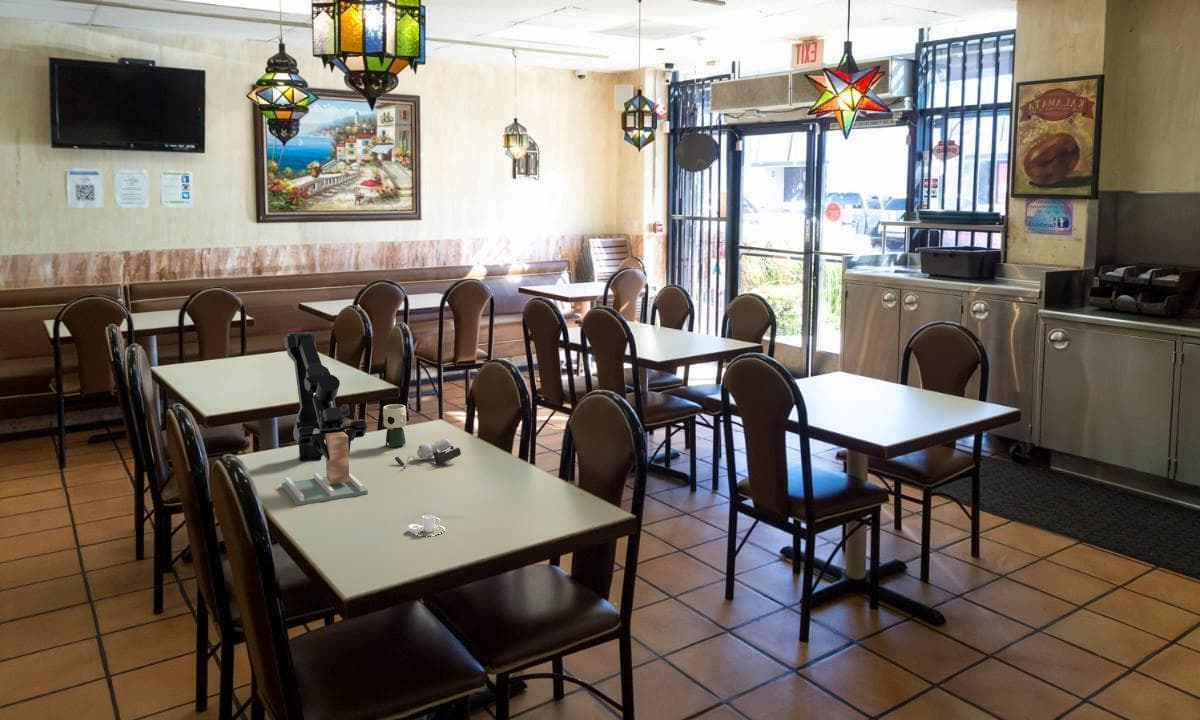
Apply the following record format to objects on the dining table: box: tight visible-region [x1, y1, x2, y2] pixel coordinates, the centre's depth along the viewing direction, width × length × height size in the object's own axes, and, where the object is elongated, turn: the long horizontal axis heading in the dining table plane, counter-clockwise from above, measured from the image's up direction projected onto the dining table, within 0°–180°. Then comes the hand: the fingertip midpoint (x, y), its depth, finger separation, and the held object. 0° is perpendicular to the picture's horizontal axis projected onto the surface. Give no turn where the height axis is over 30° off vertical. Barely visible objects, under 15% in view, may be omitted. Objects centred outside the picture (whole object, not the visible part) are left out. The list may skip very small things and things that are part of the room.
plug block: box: [324, 432, 350, 484], centre depth 262 cm, size 5×5×13 cm
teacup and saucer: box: [406, 513, 446, 538], centre depth 232 cm, size 9×8×4 cm
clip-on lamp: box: [394, 438, 462, 467], centre depth 288 cm, size 12×6×18 cm
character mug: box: [382, 403, 407, 448], centre depth 305 cm, size 11×7×13 cm, turn 51°
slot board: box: [281, 471, 369, 506], centre depth 262 cm, size 18×19×2 cm
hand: (338, 458), depth 261 cm, fingers closed on plug block, 5 cm apart
